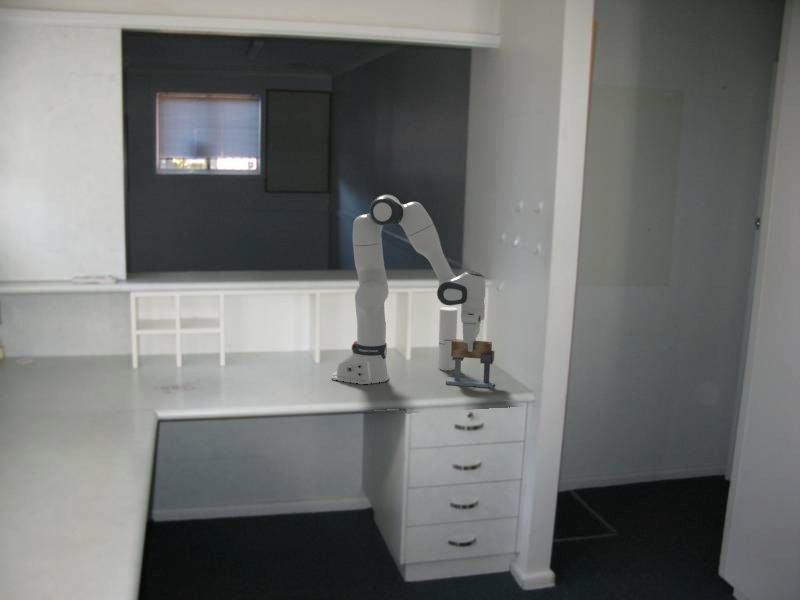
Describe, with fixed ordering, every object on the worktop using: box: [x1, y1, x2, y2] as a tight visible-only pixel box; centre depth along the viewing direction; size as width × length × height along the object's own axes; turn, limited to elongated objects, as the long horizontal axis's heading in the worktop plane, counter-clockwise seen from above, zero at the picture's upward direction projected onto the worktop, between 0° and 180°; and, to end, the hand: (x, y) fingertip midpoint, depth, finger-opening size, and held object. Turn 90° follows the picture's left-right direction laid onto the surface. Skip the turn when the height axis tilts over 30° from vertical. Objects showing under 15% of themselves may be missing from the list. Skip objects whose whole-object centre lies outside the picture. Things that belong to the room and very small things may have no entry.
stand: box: [445, 350, 495, 389], centre depth 307 cm, size 18×7×13 cm, turn 77°
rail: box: [451, 338, 493, 359], centre depth 305 cm, size 15×4×6 cm, turn 77°
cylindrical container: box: [437, 306, 458, 371], centre depth 328 cm, size 7×7×25 cm
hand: (471, 349), depth 305 cm, fingers closed on rail, 4 cm apart
